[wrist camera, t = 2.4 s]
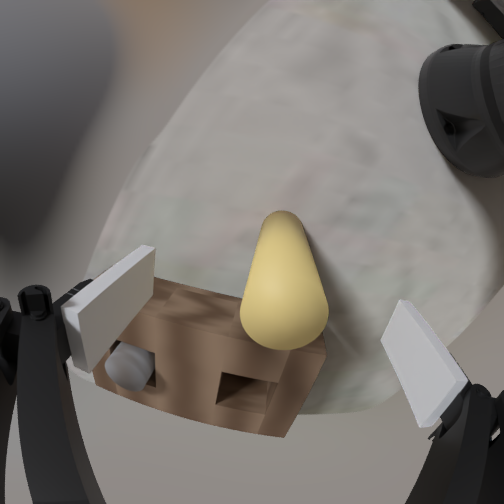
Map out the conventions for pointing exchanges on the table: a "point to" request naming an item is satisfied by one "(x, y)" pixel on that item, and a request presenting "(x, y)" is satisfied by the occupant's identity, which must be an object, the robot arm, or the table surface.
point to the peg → (283, 287)
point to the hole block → (208, 363)
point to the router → (492, 13)
